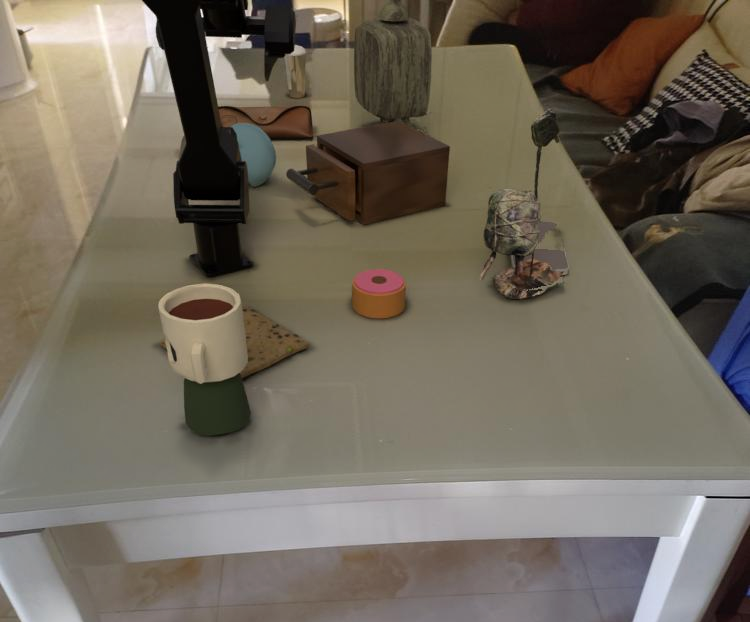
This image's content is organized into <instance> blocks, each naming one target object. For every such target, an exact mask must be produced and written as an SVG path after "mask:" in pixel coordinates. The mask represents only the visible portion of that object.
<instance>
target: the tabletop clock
mask: <svg viewBox="0 0 750 622" xmlns="http://www.w3.org/2000/svg"><path fill="white" fill-rule="evenodd" d="M399 2H401V0H390V2H388V3H385V4H384V5H383V6H382V7H381V9H380V11H379V14H378V18H376V19H366V20H364V21H363V22H362V23H361V24H360V25H357V27H356V28H355V30H354V31H355V32H354V39H353V41H354V42H353V76H354V77H353V79H354V93H355V99H356V101H357V103H358V104H359V105H360V106H361V107H362V108H363V109H364V110H365V111H366V112H367V113H369V114H371V115H373V116H375V117H377V118H379V123H378V125H379V124H384V121H387V123H390V122H395V121H397V120H399V119H400V120H401V121H402V122H403V123H404V124H406V125H408V126H410V127H412V128H413V126H412V123H411V119H410V118H418V117H424V116H427V113H428V110H429V104H430V103H429V102H430V95H431V82H432V64H433V63H432V62H433V59H432V58H433V51H432V50H433V48H432V47H433V46H432V35H431V33H430V30H429V29H428V28H427V27H426V25H424V24H423V23H422V22H420V21H419V20H417V19H414V18H411V17H409V13H408V10H407V8H406V7H405V6H404V5H403V4H402V3H399Z"/></svg>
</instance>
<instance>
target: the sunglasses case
mask: <svg viewBox="0 0 750 622" xmlns="http://www.w3.org/2000/svg"><path fill="white" fill-rule="evenodd" d="M218 108H219V114H220V119H221V124H222V126H223V127H231V126H232V125H234V124H238V123H249V124H253V125H256V126H258V127H259V128H261V129H262V130H263V131H264V132H265V133H266V134H267V135H268V137H269V138H270V140H271V141H285V140H287V141H288V140H298V139H306V138H313V137H314V126H313V116H312V109H311V108H310V106H307V105H301V104H299V105H292V106H234V105H233V106H232V105H220V106H219V105H218Z"/></svg>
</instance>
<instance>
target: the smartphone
mask: <svg viewBox="0 0 750 622" xmlns="http://www.w3.org/2000/svg"><path fill="white" fill-rule="evenodd" d="M557 225H558V226H559V224H558V223H557V222H555V221H551V220H550V221H549V220H540V226H539V229H540V231H539V233H538V240H537V243H538V244H539V242H540V243H541V241H542V239H544V238H545V237H544V236H545V233H546V232H547V233H548V230H550V228H552V229H553V228H555V227H556V226H557ZM555 229H556V228H555ZM550 231H551V230H550ZM547 233H546V234H547ZM543 237H544V238H543ZM537 243H536V246H537ZM509 257H510V263H511V267H513V268H515V266H516V263H515V258H514V255H509ZM529 259H532V254H531V255H528V256H525V257H524V259H523V261H525V260H529ZM533 259H535V260H538V261H539V262H540V263H547V264H548V265H550V267H552V268H553V269H555V271H558V272H563V274H562V275H561V276H565V275H567V274H568V273H569V271H570V264H569V260H568V256H567V253H566V249H565V250H564V251H561V250H548V249H535V251H534V257H533Z"/></svg>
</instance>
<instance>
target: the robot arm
mask: <svg viewBox="0 0 750 622" xmlns="http://www.w3.org/2000/svg"><path fill="white" fill-rule="evenodd" d="M141 1H142V3H143V4H144V5H145V6H146V7H147V8H148V9H149V10H150V11H151V13H152V14H154V16H155V18H156V23H155V37H156V40H157V44H158V47H159V48H160V49H161V50H162V51H163V52H164V56H165V59H166V60H165V61H166V64H167V68H168V73H169V77H170V80H171V85H172V89H173V93H174V97H175V101H176V102H175V103H176V106H177V110H178V114H179V120H180V123H181V127H182V132H183V136H182V138H181V141H180V149H179V155H178V160H177V161H176V166H175V170H174V172H173V174H172V179H173V180H172V181H173V206H174V212H175V213H174V214H175V218H176V219H177V222H178V224H180V225H181V224H182V225H183V224H192V227H193V231H194V238H195V246H196V251H197V252H196V253H193V254H192V253H191V254H190V255H189V256H188V257H189V261H190V262H191V263H193V264H194V265H195V267H196V268H198V270H199V271H200V272H201V273H202V274H203V275H204V276H205V277H207V278H213V277H216V276H221V275H225V274H230V273H233V272H237V271H241V270H245V269H249V268H252V267H254V264H253V263H254V262H253V261H252V260H251V259H250V258H249V257H248V256H247V255H246V254H244V253H243V248H242V240H241V239H242V238H241V229H240V224H241V225H247V223H248V219H249V216H250V212H251V211H250V210H251V207H250V205H251V204H250V203H251V202H250V186H249V185H250V184H249V182H248V169H247V164H246V161H242V159H241V154H240V149H239V144H238V141H237V134H236V132H235V130H234V129H233V128H232V127H223V126H222V124H221V119H220V114H219V108H218V107H219V104H218V103H219V102H218V97H217V93H216V92H217V91H216V88H215V81H214V76H213V71H212V64H211V60H210V59H211V58H210V55H209V54H210V53H209V49H208V48H209V47H208V44H207V37H208V38H209V37H210V38H232V39H233V38H237V39H243V36H264V37H263V39H264V41H263V42H264V54H263V61H264V62H263V65H264V66H263V68H264V69H263V74H264V76H263V77H264V80H265V82H269V81H270V79H271V78H270V77H271V74H272V71H273V68H274V66H275V64H276V63H277V61H278V59H284V57H285V55H286V54H291V53H292V52H294V47H295V45H296V43H295V42H296V28H297V18H296V11H294V9H293V8H292V7H291V6H283V5H282V6H281V5H279V6H276V5H265V12H264V16H254V15H246V11H248V9H249V0H141ZM190 201H194V202H195V201H196V202H197V201H200V202H201V201H206V202H208V201H209V202H211V201H212V202H213V201H214V202H217V201H218V202H222V201H223V202H239V204H190Z"/></svg>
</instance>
